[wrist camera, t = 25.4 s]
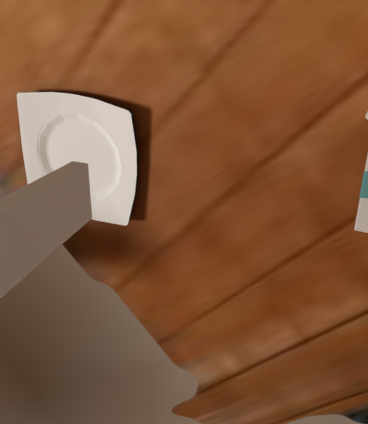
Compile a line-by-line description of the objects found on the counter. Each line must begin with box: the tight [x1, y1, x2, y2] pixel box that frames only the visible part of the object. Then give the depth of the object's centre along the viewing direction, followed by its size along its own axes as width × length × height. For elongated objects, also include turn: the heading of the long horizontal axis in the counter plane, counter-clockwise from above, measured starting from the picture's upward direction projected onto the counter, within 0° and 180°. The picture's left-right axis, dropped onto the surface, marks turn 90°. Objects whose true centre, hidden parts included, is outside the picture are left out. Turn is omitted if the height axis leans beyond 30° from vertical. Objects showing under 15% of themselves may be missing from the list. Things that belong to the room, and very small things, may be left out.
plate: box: [17, 92, 138, 226], centre depth 52 cm, size 20×20×3 cm
